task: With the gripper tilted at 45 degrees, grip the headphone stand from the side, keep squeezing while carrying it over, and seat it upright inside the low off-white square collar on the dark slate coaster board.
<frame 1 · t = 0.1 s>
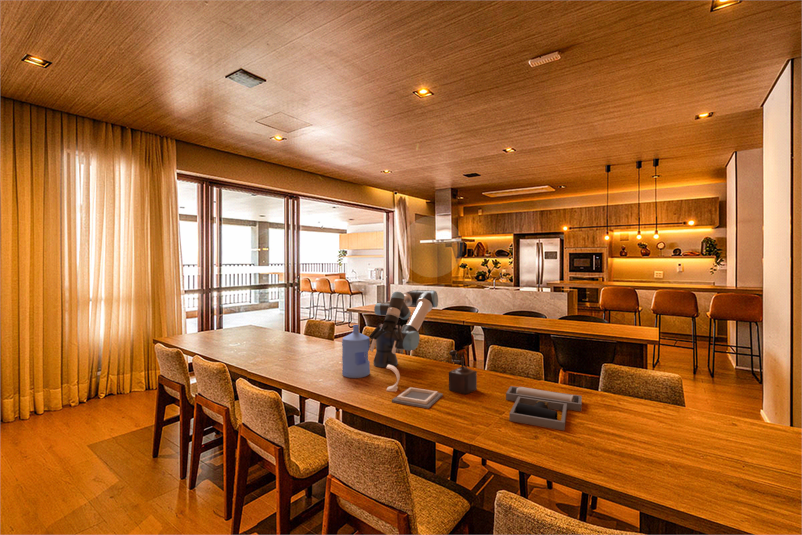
hand: (382, 351, 203), 15 cm above the table, tool tilted 35°, fingers open, 13 cm apart
pepper mill: (458, 389, 189), on the table
tube: (543, 402, 172), on the table
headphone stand: (393, 390, 188), on the table
coaster board: (417, 398, 175), on the table
connector rest frame: (539, 415, 155), on the table
water jug: (356, 374, 214), on the table
tube rest frame: (543, 401, 172), on the table
pipe connector: (539, 417, 155), on the table
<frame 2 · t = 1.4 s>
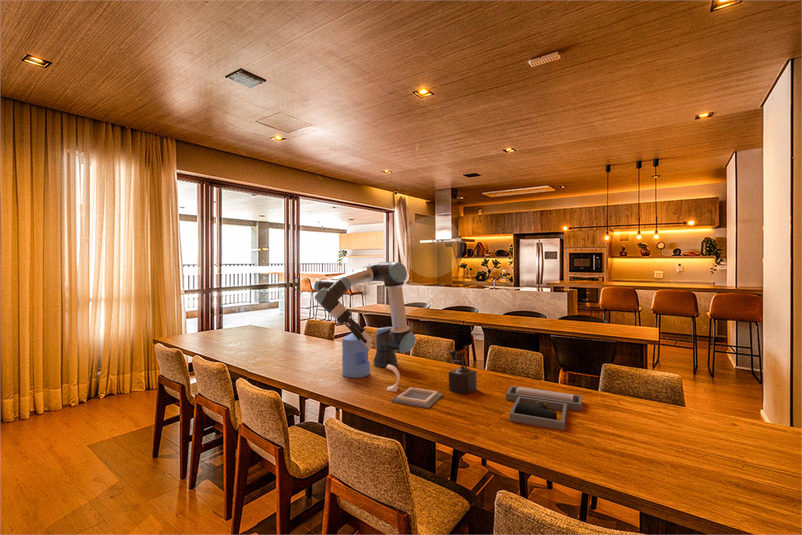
hand: (371, 344, 187), 23 cm above the table, tool tilted 45°, fingers open, 13 cm apart
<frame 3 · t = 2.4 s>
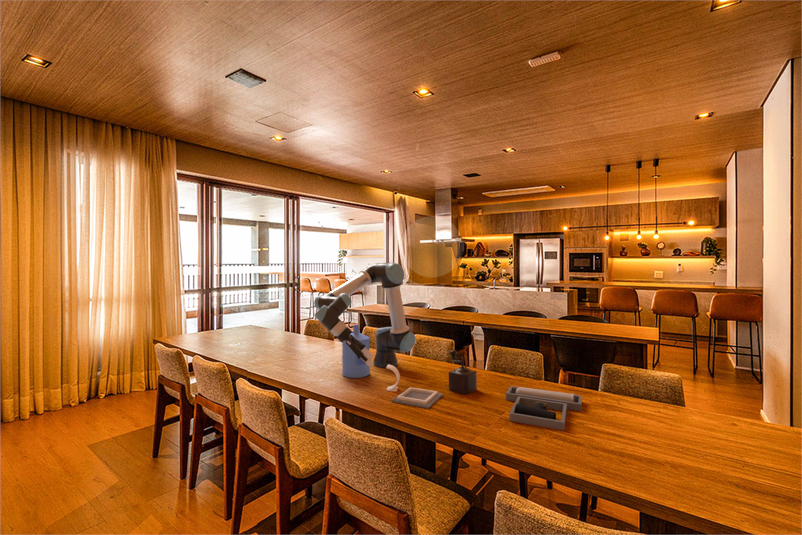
hand: (372, 361, 187), 14 cm above the table, tool tilted 45°, fingers open, 13 cm apart
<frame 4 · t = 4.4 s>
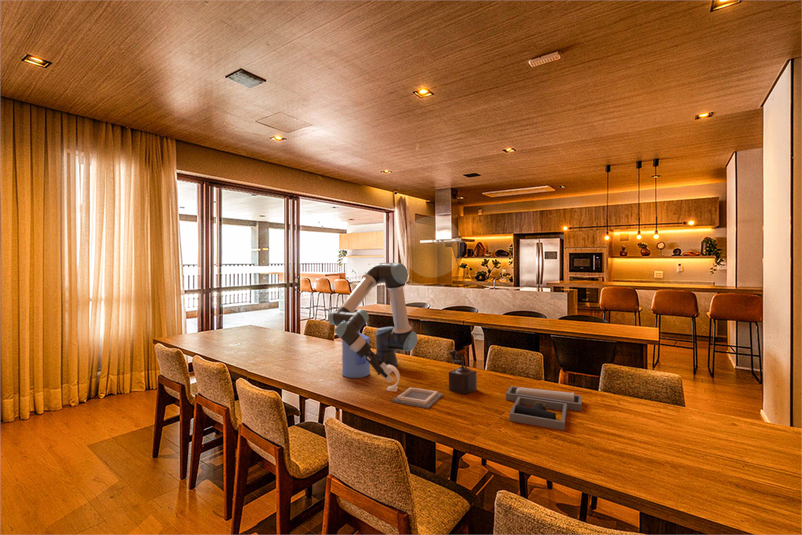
hand: (391, 376, 187), 7 cm above the table, tool tilted 45°, fingers open, 13 cm apart
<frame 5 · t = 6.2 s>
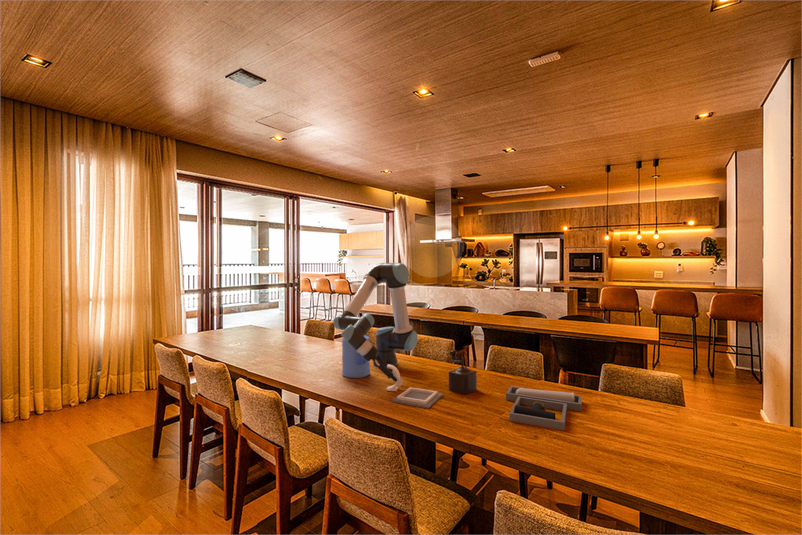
hand: (400, 382, 188), 3 cm above the table, tool tilted 45°, fingers closed on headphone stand, 5 cm apart
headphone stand: (393, 390, 188), on the table, touching gripper
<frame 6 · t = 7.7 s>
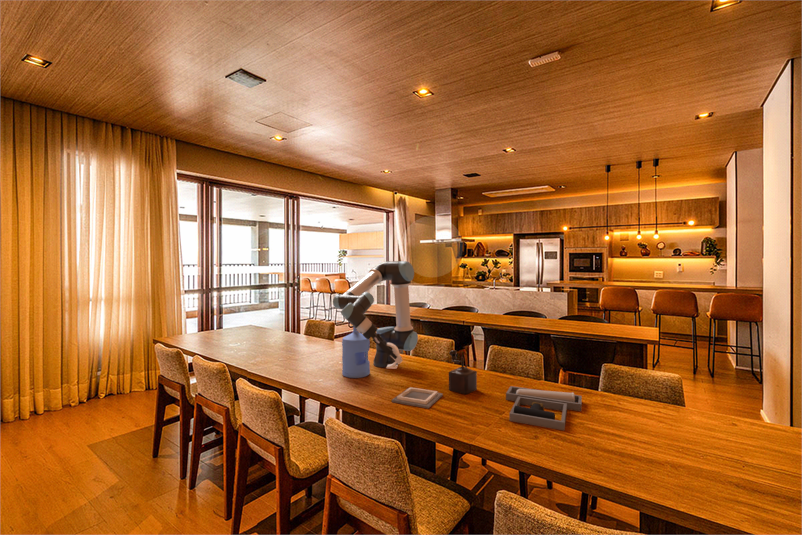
hand: (400, 360, 188), 14 cm above the table, tool tilted 45°, fingers closed on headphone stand, 5 cm apart
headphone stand: (393, 367, 188), point 11 cm above the table, touching gripper
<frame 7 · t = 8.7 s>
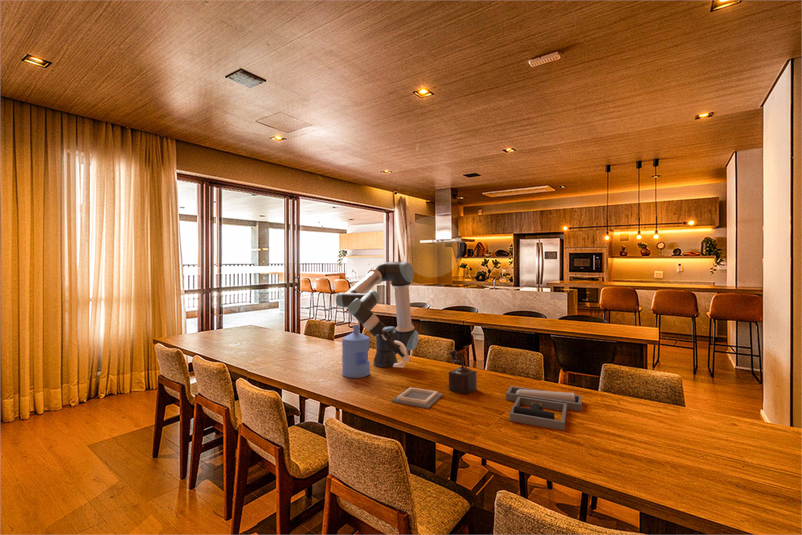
hand: (407, 359, 181), 17 cm above the table, tool tilted 45°, fingers closed on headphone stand, 5 cm apart
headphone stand: (399, 366, 182), point 13 cm above the table, touching gripper
when the fingers open (5 cm above the table, at t = 12.5 s): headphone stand stays where it is, resting on coaster board.
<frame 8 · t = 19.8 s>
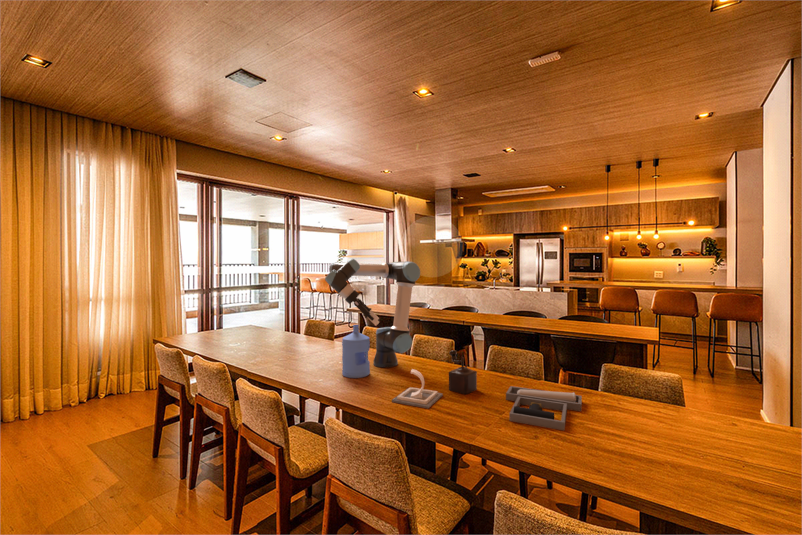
hand: (377, 322, 202), 32 cm above the table, tool tilted 45°, fingers open, 13 cm apart
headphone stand: (417, 396, 175), point 1 cm above the table, touching coaster board
at the end: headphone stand inside the target area on the coaster board (0.4 cm from its centre), point 0.8 cm above the coaster board's base; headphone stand tilted 0°; the gripper is holding nothing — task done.
